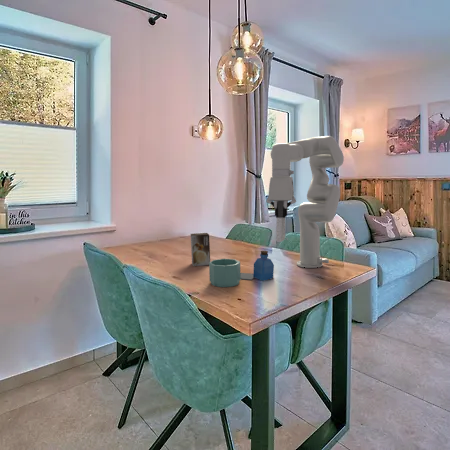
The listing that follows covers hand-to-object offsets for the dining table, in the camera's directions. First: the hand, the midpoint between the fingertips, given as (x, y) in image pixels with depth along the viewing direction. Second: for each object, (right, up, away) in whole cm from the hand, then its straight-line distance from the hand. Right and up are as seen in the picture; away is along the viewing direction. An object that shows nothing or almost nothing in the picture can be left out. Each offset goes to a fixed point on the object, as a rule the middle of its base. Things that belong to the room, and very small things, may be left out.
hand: (281, 217), depth 148 cm
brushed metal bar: (0, -10, +1) cm, 10 cm away
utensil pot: (-24, -28, +1) cm, 37 cm away
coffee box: (-36, -24, +34) cm, 55 cm away
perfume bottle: (-7, -27, +6) cm, 28 cm away
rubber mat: (-16, -27, +10) cm, 33 cm away
